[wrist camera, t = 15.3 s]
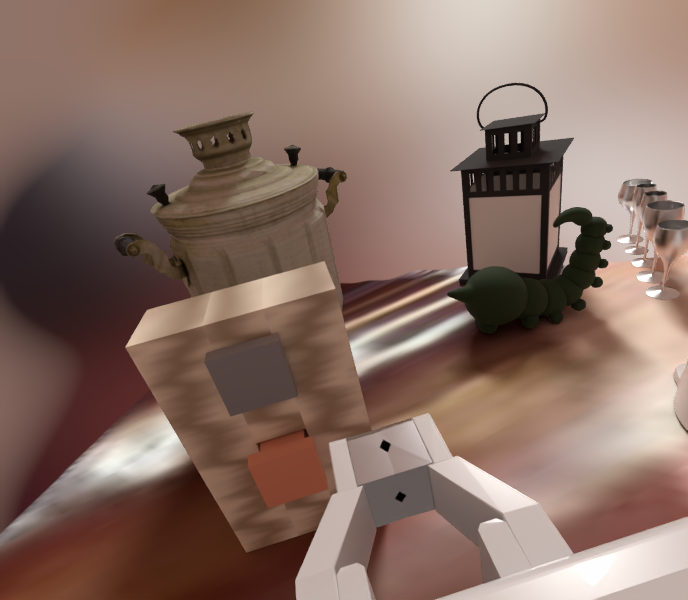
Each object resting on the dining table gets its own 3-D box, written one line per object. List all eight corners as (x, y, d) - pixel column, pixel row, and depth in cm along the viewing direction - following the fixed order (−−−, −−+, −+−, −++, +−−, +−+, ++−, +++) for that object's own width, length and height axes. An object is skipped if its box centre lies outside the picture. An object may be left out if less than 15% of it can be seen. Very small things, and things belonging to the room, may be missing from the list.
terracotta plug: (316, 417, 43) (303, 379, 41) (328, 489, 35) (313, 446, 32) (267, 432, 43) (250, 394, 40) (268, 508, 35) (247, 466, 32)
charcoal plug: (290, 337, 40) (274, 289, 37) (297, 396, 32) (278, 340, 29) (237, 353, 39) (217, 306, 37) (230, 416, 31) (204, 361, 29)
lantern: (567, 252, 83) (578, 64, 67) (552, 292, 71) (562, 76, 55) (484, 249, 93) (476, 85, 76) (459, 283, 81) (444, 98, 65)
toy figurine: (570, 300, 71) (437, 324, 69) (588, 195, 62) (436, 220, 60) (609, 326, 62) (458, 354, 61) (635, 209, 54) (460, 238, 52)
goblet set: (689, 300, 61) (708, 219, 55) (644, 300, 63) (657, 223, 57) (642, 233, 83) (652, 170, 77) (610, 235, 86) (617, 174, 79)
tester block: (376, 461, 47) (324, 261, 35) (390, 506, 42) (335, 288, 30) (248, 502, 46) (147, 310, 34) (246, 552, 41) (125, 347, 29)
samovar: (344, 315, 80) (291, 101, 61) (419, 382, 58) (371, 80, 39) (201, 378, 71) (88, 151, 53) (226, 484, 49) (46, 160, 31)
